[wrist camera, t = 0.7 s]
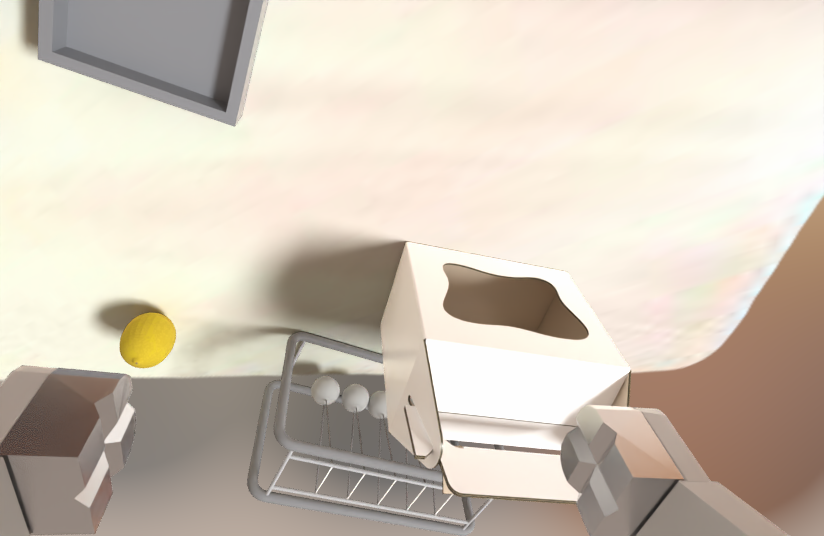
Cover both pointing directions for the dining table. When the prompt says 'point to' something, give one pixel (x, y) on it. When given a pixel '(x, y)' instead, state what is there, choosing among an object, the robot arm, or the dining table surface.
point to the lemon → (147, 340)
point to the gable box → (493, 370)
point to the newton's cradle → (353, 401)
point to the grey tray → (159, 48)
